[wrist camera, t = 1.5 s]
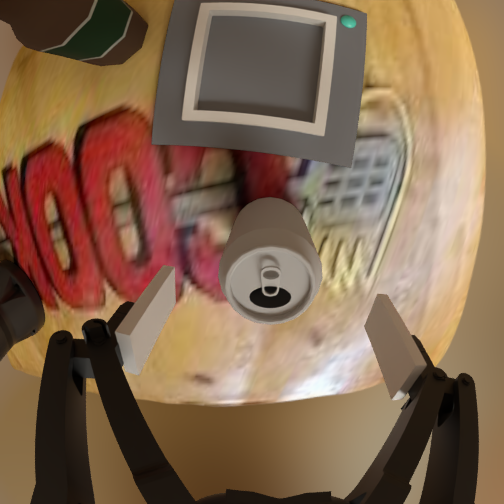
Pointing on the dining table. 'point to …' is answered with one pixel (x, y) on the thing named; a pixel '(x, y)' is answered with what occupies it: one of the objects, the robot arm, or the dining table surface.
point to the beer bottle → (77, 28)
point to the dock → (262, 78)
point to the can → (270, 263)
